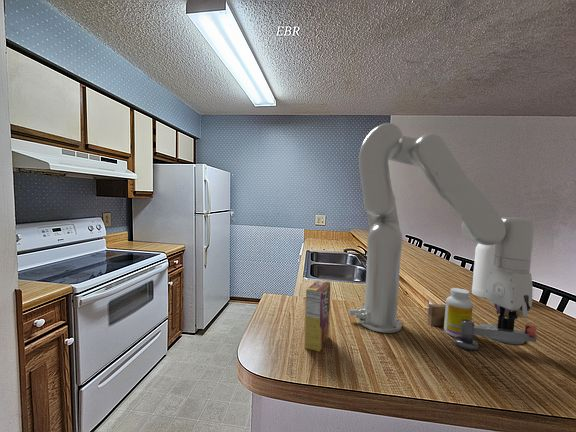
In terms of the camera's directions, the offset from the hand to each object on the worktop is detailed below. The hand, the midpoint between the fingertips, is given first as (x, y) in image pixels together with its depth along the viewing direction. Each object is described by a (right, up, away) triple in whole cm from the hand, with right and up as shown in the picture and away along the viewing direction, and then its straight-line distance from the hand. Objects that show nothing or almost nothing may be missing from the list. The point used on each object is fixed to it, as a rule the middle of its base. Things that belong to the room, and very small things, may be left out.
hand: (505, 331), depth 74 cm
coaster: (+4, -4, +7) cm, 9 cm away
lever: (-4, -4, -2) cm, 6 cm away
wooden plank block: (-8, -3, +13) cm, 15 cm away
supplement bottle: (-9, -4, +7) cm, 12 cm away
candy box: (-51, -2, -1) cm, 51 cm away
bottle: (+24, -3, +43) cm, 49 cm away
